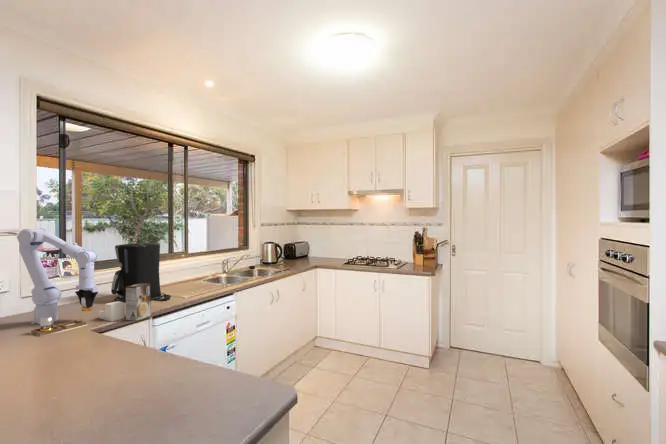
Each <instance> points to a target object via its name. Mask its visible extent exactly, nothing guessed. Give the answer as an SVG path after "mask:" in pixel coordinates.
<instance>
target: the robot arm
mask: <svg viewBox="0 0 666 444" xmlns="http://www.w3.org/2000/svg"><path fill="white" fill-rule="evenodd" d="M16 239H17V241H18V243H19V244H18V247H19V249H18V250H19V251H18V252H19V253H20V256H21V258H22V261H23V263H24V265H25V267H26V270H27V272H28V274H29V277H30V279H31V280H32V281H31V282H32V283H33V286H34V287H33V288H32V289H31V295H32V297H31V299H32V303H34V304H35V307H34V308H33V321H32V322H31V324H38V325H40V318H42V317H46V316H53V323H54V322H57V321H58V320H59V319H58V302H59V300H60V298H61V297H62V292H61V290H60V288H58V287H57V285H56V283H53V282H51V281H50V279H49V277H48V274H47V271H46V269H45V268H44V267H45V266H44V265H43V263H42V260H41V258H40V255H39V253H38V249H39V248H40V246H42V245H43V244H44V243H48V244H49V245H52V246H55V247H57V248H58V249H61V250H62V251H61V252H62V253H63V254H65V255H66V256H68V257H70V258H73V259H74V260H75V262H76V263H77V266H78V284H77V285H75V290H77V291H75V292H74V293H75V294H76V296H77V298H78V300H79V304H80V305H81V298H82V297H85V301H86V307H92V308H93V306H94V305H93V304H94V302H95V299H96V296H97V295H98V293H99V289H98V287H97V286H98V284H95V261H97V258H98V255H97V253H96V252H95V251H94V250H91V249H90V250H87V248H85V247H82V246H80V245H78V243H77V242H73V241H72V242H71V241H70V242H66V241H65V240H63V239H61V238H60V237H58V236H56V235H54V234H53V233H52V232H51V231H50V230H47V229H45V228H31V229H30V228H25V229H24V228H23V229H22V230H20V231H19V233H18V235H17V236H16Z"/></svg>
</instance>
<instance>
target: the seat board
mask: <svg viewBox="0 0 666 444" xmlns="http://www.w3.org/2000/svg"><path fill="white" fill-rule="evenodd" d="M85 326H88V324H87V321H85V320H81V319H74V320H70V321H65V322H61V323H57V324H56V325H54V324H53V330H49V331H45V332H40V329H41V327H40V328H35V329H31V330H30V332H29V334H31V335H33V336H37V337H41V338H44V337H47V336H51V335H56V334H58V333H59V334H60V333H63V332H67V331H71V330H74V329H79V328H82V327H85Z"/></svg>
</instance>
